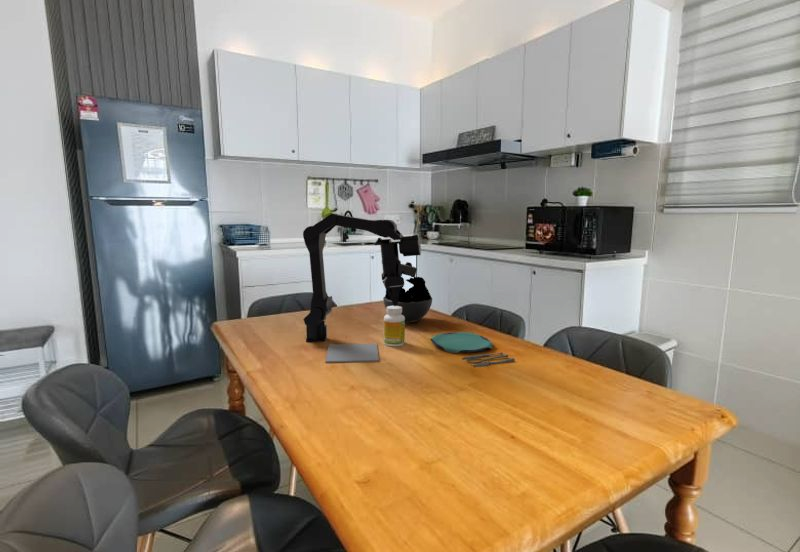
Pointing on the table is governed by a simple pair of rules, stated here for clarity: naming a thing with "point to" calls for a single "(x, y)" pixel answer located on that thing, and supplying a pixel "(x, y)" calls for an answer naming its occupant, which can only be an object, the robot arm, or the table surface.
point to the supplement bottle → (394, 327)
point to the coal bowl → (412, 300)
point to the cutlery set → (467, 346)
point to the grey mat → (352, 353)
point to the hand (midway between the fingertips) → (394, 303)
